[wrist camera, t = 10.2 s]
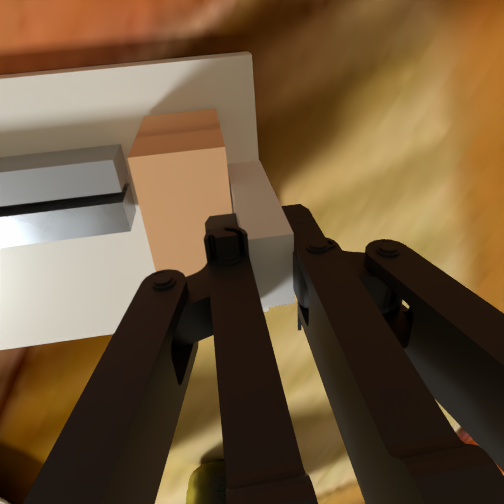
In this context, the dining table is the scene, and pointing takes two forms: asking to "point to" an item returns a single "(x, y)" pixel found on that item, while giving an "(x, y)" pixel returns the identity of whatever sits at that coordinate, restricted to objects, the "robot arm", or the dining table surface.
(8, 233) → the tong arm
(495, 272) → the dining table surface
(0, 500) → the dinner plate
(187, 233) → the tan wooden block
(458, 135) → the dining table surface
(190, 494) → the bottle
